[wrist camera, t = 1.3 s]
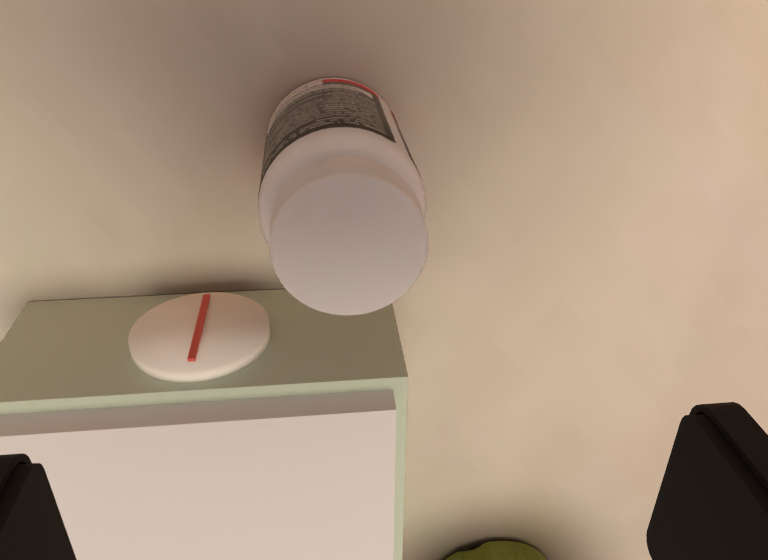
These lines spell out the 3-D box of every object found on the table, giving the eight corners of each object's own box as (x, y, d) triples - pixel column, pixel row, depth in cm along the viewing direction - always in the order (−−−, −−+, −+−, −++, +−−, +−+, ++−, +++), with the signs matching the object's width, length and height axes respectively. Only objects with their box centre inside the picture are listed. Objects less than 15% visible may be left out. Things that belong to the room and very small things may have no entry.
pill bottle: (238, 142, 23) (209, 253, 16) (332, 44, 22) (347, 117, 15) (334, 226, 25) (346, 358, 18) (425, 142, 24) (478, 248, 17)
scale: (24, 287, 25) (-65, 410, 19) (387, 269, 26) (412, 380, 20) (104, 540, 32) (59, 687, 26) (385, 517, 34) (403, 651, 28)
